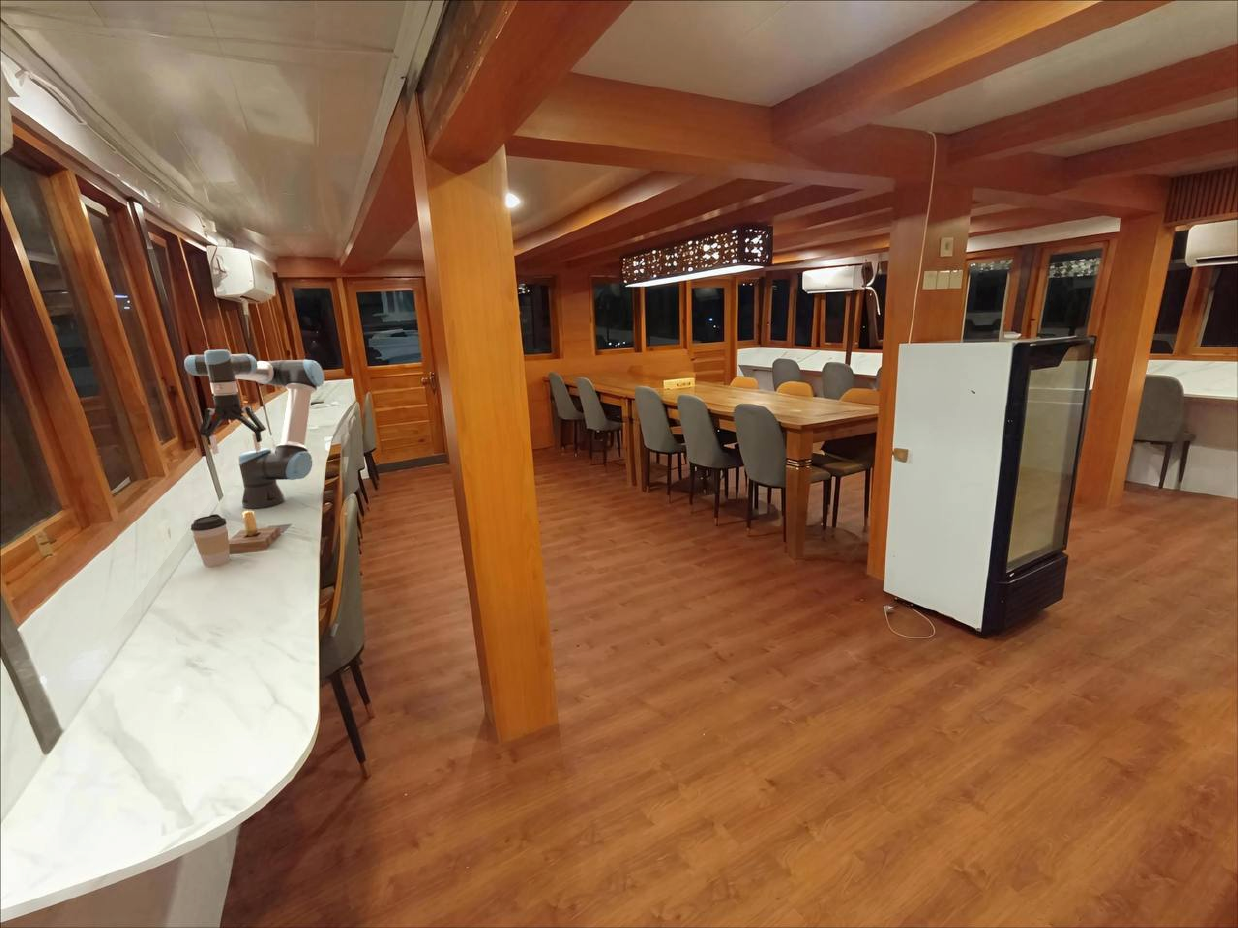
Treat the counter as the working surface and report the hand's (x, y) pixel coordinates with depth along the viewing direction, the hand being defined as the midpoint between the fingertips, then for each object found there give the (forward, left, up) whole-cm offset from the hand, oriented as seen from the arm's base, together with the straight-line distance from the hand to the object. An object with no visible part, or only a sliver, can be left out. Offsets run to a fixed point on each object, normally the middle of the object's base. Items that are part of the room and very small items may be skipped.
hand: (237, 452), depth 193 cm
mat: (+8, +11, -29) cm, 32 cm away
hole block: (+21, +8, -29) cm, 36 cm away
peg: (+21, +8, -29) cm, 37 cm away
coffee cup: (+34, +2, -29) cm, 45 cm away
